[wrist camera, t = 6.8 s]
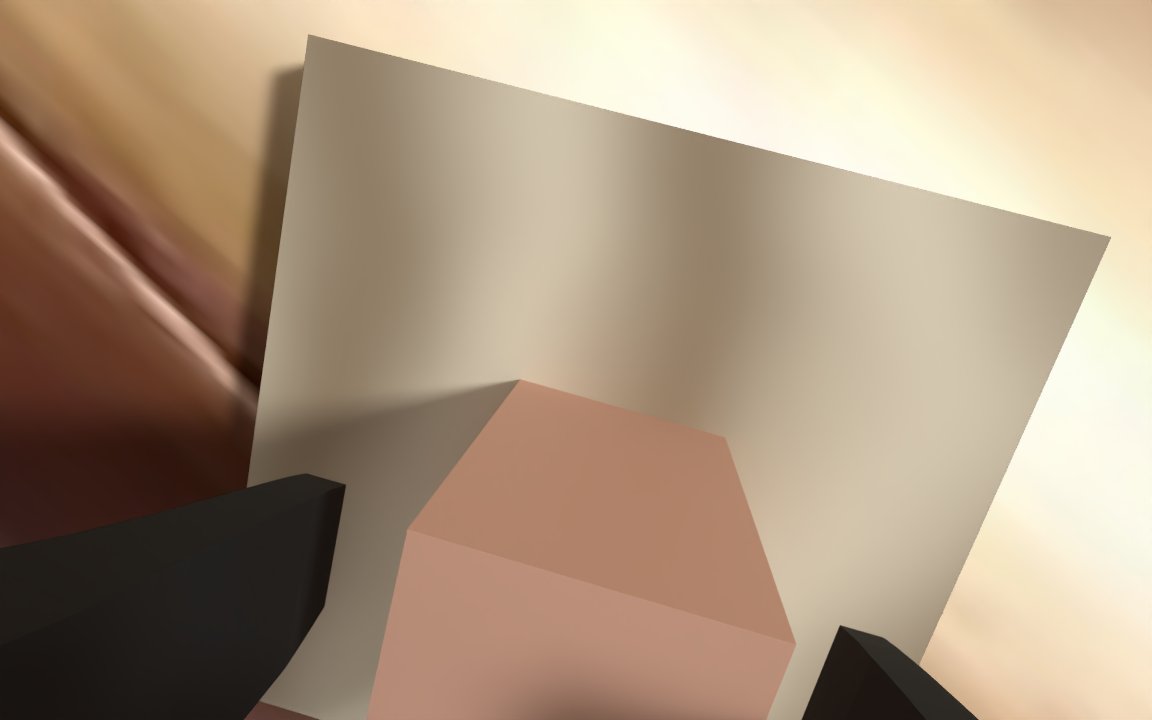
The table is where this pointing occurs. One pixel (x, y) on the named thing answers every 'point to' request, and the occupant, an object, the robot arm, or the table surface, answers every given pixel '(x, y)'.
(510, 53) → the table surface
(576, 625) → the block
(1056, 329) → the board
